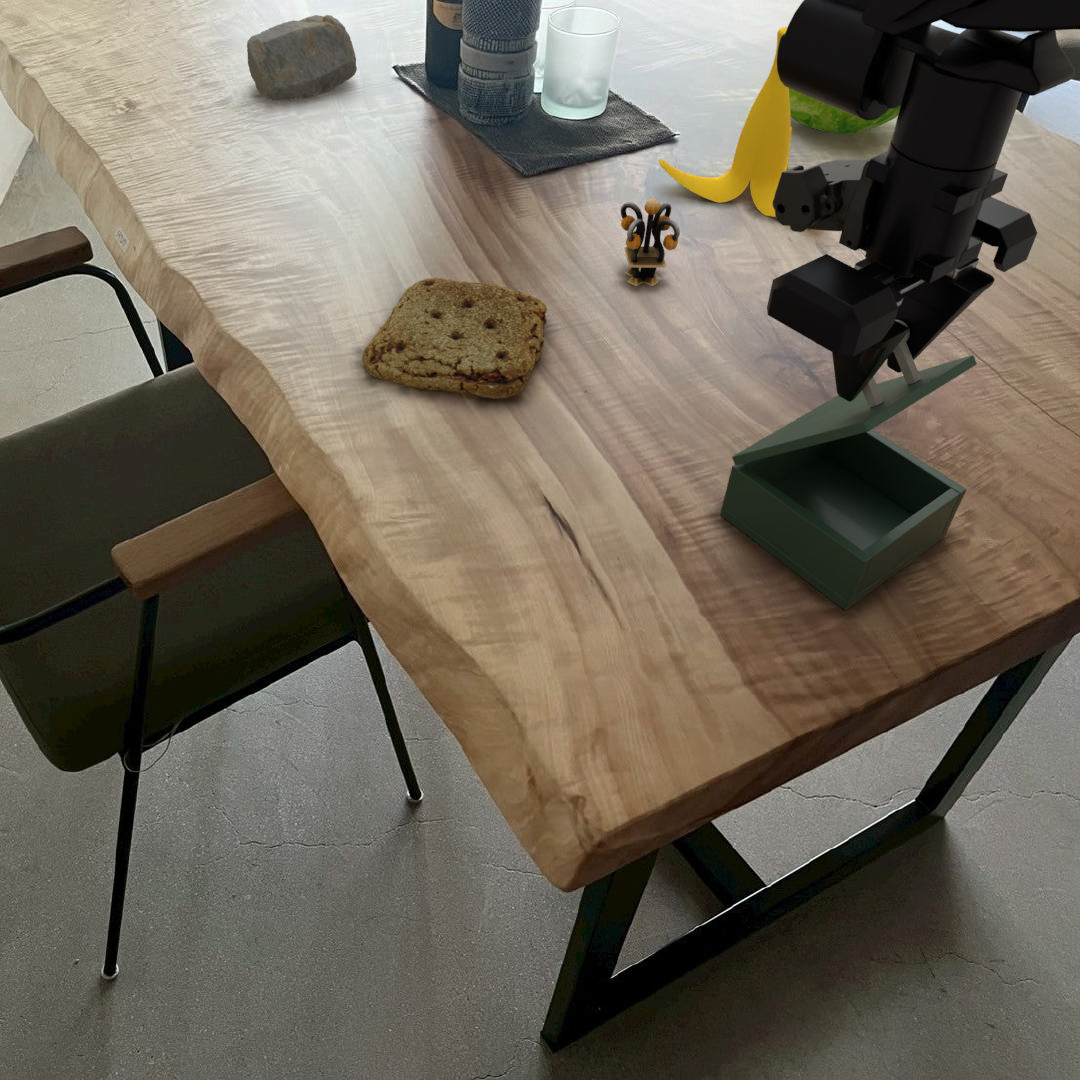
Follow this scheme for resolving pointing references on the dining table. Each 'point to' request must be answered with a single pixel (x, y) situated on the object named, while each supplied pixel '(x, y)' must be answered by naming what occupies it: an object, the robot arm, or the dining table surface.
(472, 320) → the pastry
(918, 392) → the lid
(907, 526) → the chest
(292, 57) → the stone
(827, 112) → the lettuce
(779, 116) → the banana peel
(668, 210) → the figurine
